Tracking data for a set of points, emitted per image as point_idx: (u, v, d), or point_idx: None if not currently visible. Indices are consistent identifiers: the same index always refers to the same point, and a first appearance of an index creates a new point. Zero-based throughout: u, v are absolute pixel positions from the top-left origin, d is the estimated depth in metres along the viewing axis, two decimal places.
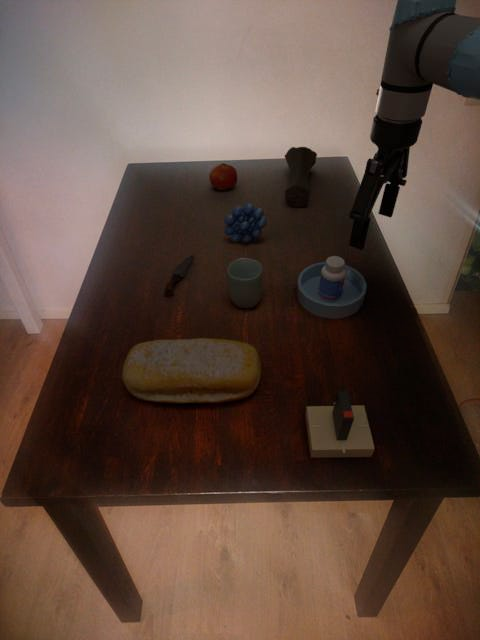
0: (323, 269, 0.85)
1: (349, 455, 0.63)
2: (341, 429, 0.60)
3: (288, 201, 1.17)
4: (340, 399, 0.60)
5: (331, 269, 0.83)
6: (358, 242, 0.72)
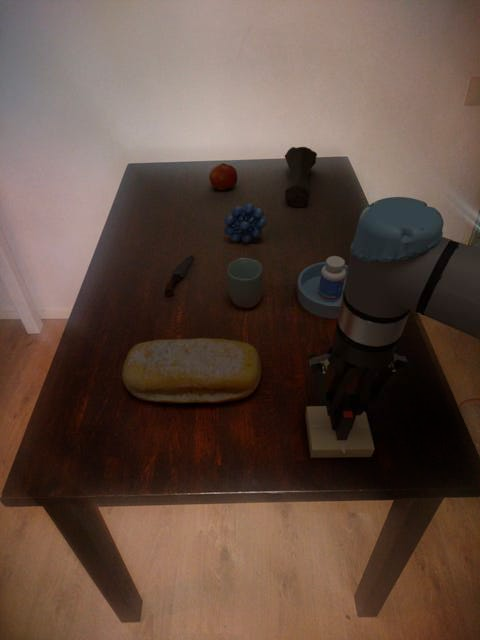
0: (323, 269, 0.85)
1: (349, 455, 0.63)
2: (341, 429, 0.60)
3: (288, 201, 1.17)
4: None
5: (331, 269, 0.83)
6: (332, 420, 0.62)
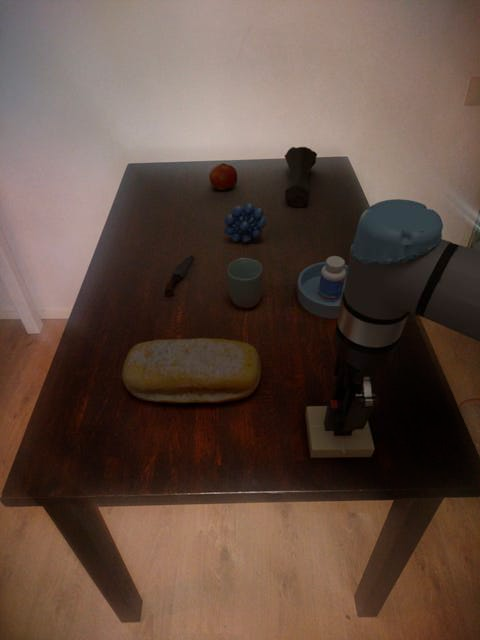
0: (323, 269, 0.85)
1: (349, 455, 0.63)
2: (326, 412, 0.62)
3: (288, 201, 1.17)
4: None
5: (331, 269, 0.83)
6: None
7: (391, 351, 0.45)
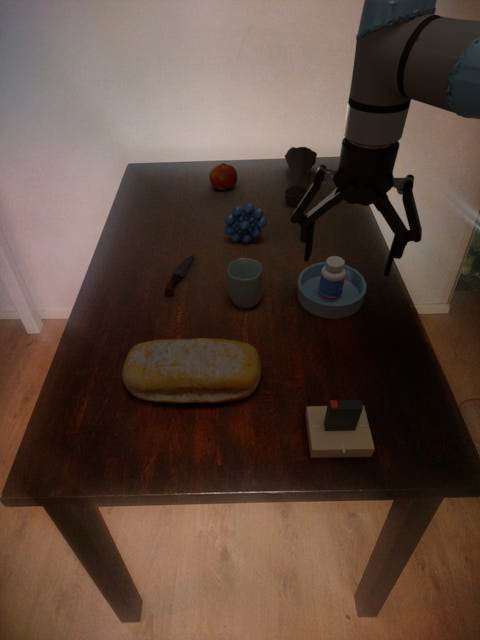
0: (323, 269, 0.85)
1: (349, 455, 0.63)
2: (326, 412, 0.62)
3: (288, 201, 1.17)
4: (350, 400, 0.59)
5: (331, 269, 0.83)
6: None
7: None
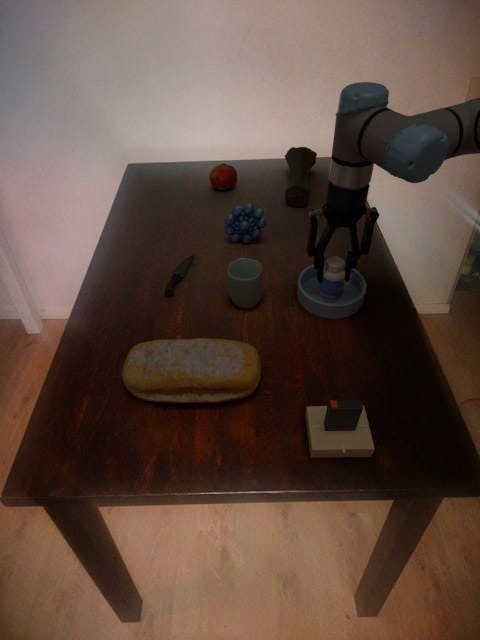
0: (323, 269, 0.85)
1: (349, 455, 0.63)
2: (326, 412, 0.62)
3: (288, 201, 1.17)
4: (350, 400, 0.59)
5: (331, 269, 0.83)
6: (318, 275, 0.86)
7: None
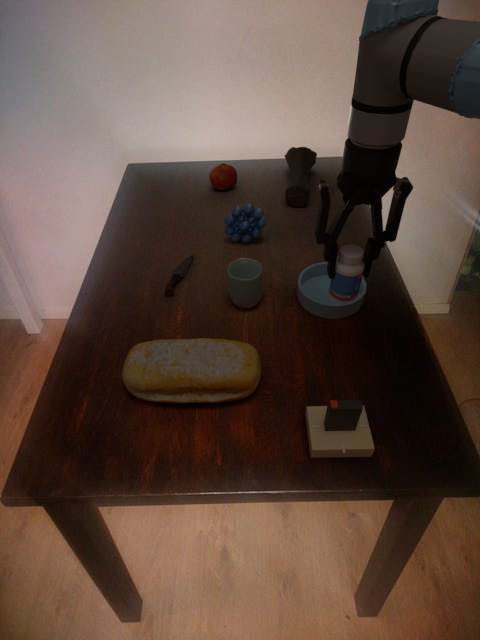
0: None
1: (349, 455, 0.63)
2: (326, 412, 0.62)
3: (288, 201, 1.17)
4: (350, 400, 0.59)
5: (346, 261, 0.64)
6: (329, 269, 0.67)
7: None
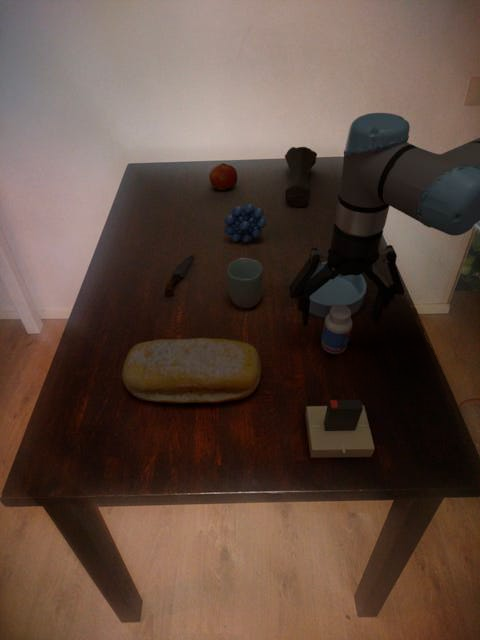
0: (327, 319, 0.75)
1: (349, 455, 0.63)
2: (326, 412, 0.62)
3: (288, 201, 1.17)
4: (350, 400, 0.59)
5: (336, 321, 0.73)
6: (303, 317, 0.74)
7: None
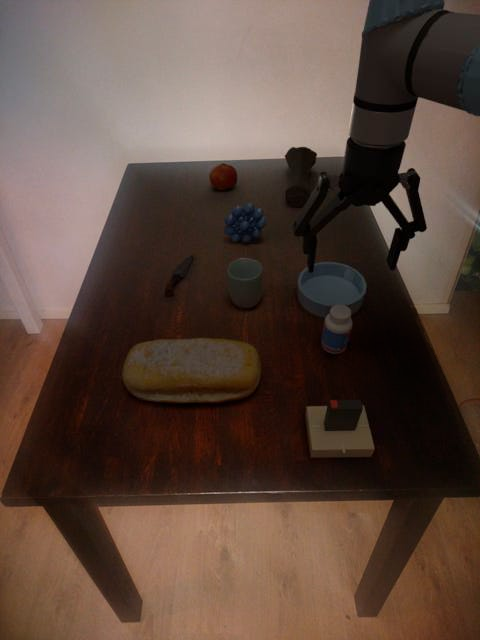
0: (327, 319, 0.75)
1: (349, 455, 0.63)
2: (326, 412, 0.62)
3: (288, 201, 1.17)
4: (350, 400, 0.59)
5: (336, 321, 0.73)
6: (308, 262, 0.64)
7: None
